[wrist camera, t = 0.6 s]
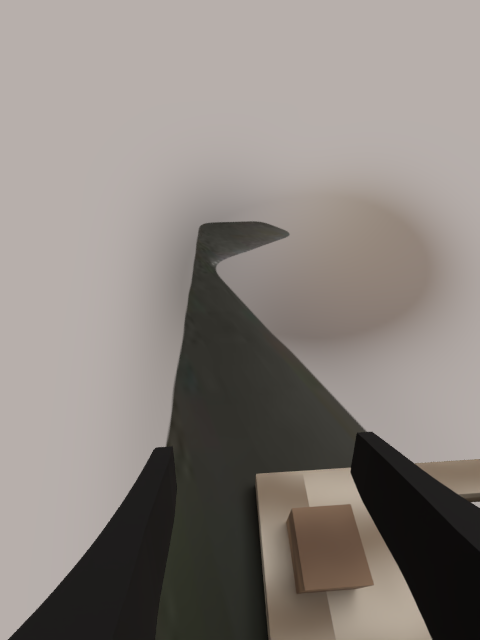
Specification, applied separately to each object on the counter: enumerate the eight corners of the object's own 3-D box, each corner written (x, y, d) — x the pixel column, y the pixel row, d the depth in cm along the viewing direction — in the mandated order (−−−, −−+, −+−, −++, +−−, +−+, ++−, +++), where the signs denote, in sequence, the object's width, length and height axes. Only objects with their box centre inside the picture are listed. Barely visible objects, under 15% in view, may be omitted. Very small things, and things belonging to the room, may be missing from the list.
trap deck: (735, 862, 14) (822, 906, 12) (291, 909, 13) (299, 964, 11) (485, 469, 27) (505, 457, 25) (255, 485, 26) (256, 474, 24)
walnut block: (355, 589, 19) (374, 585, 16) (296, 593, 19) (305, 590, 16) (337, 518, 22) (350, 504, 19) (286, 521, 22) (291, 508, 19)
